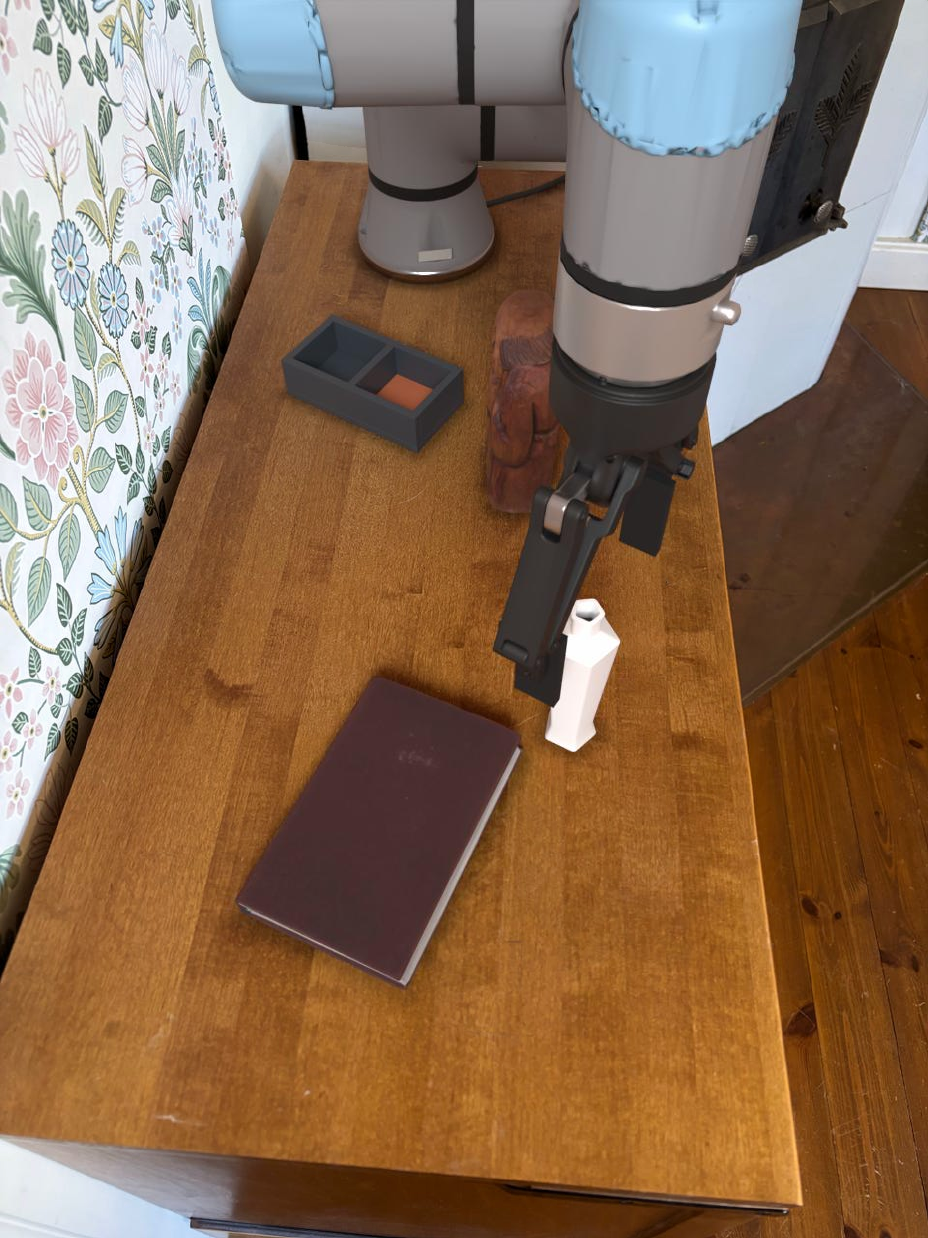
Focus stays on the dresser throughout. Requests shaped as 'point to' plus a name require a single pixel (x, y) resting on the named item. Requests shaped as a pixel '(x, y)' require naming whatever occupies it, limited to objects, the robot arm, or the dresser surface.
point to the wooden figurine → (520, 402)
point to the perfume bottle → (582, 675)
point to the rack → (374, 382)
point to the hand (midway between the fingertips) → (590, 615)
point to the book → (383, 830)
